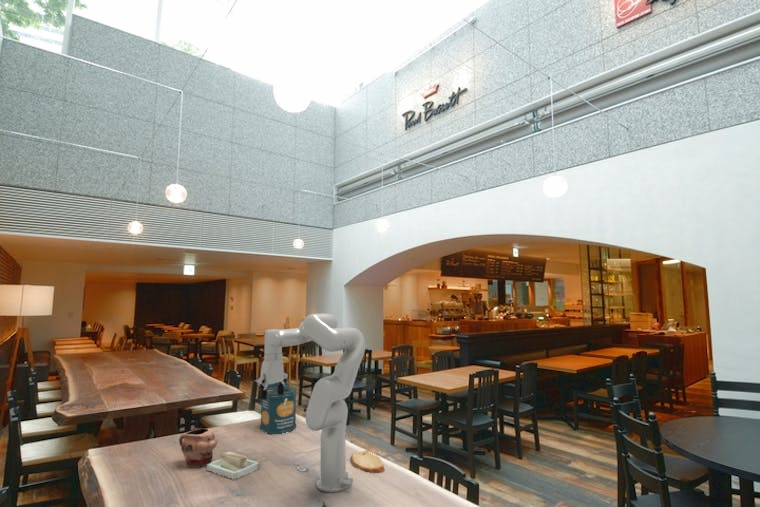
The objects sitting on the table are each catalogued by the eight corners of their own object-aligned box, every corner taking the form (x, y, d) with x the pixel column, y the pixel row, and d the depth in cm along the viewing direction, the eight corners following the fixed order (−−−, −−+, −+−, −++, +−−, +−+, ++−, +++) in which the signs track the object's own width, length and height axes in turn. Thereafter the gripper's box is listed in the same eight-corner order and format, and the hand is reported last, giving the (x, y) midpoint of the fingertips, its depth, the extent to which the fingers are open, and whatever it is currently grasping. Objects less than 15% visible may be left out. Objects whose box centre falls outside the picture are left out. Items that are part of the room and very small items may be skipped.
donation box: (286, 423, 228) (286, 374, 232) (299, 429, 216) (300, 377, 220) (259, 429, 218) (260, 377, 221) (272, 436, 206) (273, 381, 209)
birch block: (228, 463, 169) (228, 451, 170) (246, 469, 163) (247, 456, 164) (220, 467, 166) (220, 454, 167) (238, 472, 160) (239, 460, 160)
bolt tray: (259, 468, 165) (259, 462, 165) (234, 480, 154) (234, 473, 155) (231, 460, 175) (231, 454, 175) (206, 470, 164) (206, 464, 164)
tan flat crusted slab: (382, 475, 157) (382, 465, 158) (341, 470, 162) (341, 461, 163) (393, 458, 174) (393, 449, 175) (355, 454, 179) (355, 446, 180)
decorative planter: (166, 467, 168) (168, 433, 170) (186, 456, 180) (188, 425, 182) (206, 471, 163) (207, 436, 165) (224, 460, 175) (225, 427, 177)
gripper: (281, 354, 184) (281, 392, 182) (251, 359, 170) (250, 400, 168) (293, 355, 180) (292, 393, 178) (263, 360, 166) (262, 402, 164)
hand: (272, 396), depth 173 cm, fingers open, 9 cm apart
